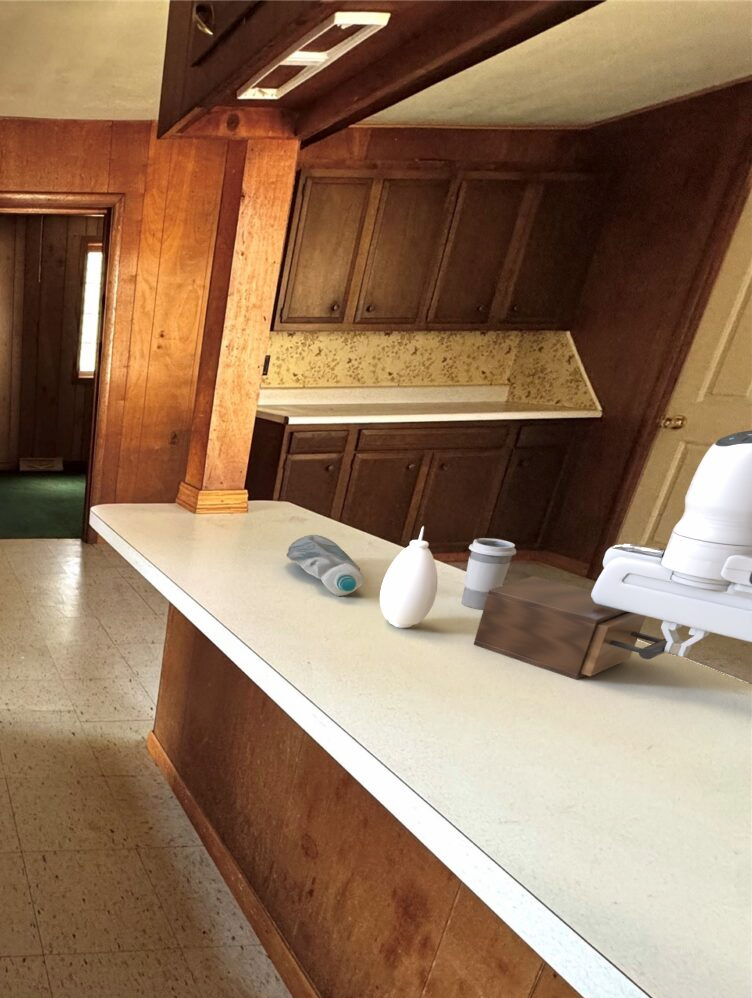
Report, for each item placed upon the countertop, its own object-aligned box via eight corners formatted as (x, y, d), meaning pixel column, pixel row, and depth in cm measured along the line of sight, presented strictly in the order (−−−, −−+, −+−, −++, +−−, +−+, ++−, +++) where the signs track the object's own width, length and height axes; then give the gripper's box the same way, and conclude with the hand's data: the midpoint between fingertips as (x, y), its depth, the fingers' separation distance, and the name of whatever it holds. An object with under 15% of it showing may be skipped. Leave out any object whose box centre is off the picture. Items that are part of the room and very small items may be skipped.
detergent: (278, 560, 149) (303, 598, 126) (285, 529, 146) (312, 562, 124) (341, 567, 146) (379, 608, 124) (350, 536, 143) (390, 572, 121)
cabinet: (619, 660, 101) (641, 602, 97) (575, 679, 96) (597, 619, 92) (516, 628, 112) (533, 575, 109) (473, 644, 107) (488, 589, 104)
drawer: (672, 672, 95) (693, 622, 92) (633, 691, 91) (654, 639, 88) (532, 629, 110) (546, 585, 107) (492, 644, 105) (506, 598, 102)
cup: (467, 595, 127) (483, 535, 122) (507, 606, 121) (526, 544, 117) (446, 603, 124) (462, 541, 119) (486, 614, 118) (505, 550, 114)
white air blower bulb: (427, 638, 110) (453, 534, 103) (372, 629, 114) (394, 529, 107) (426, 622, 116) (451, 523, 109) (374, 614, 120) (395, 518, 113)
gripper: (599, 543, 93) (569, 632, 98) (826, 585, 76) (775, 691, 81) (620, 535, 95) (590, 623, 100) (844, 575, 78) (794, 678, 83)
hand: (674, 654), depth 90 cm, fingers closed
